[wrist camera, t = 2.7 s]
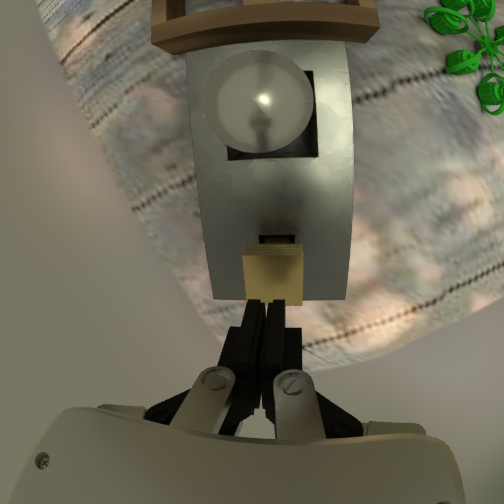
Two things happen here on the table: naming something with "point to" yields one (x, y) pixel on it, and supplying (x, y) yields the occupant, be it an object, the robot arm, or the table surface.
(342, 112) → the socket block
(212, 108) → the grey tall cylinder
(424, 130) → the table surface
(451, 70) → the chandelier
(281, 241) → the release key
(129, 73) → the table surface
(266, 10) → the frame
